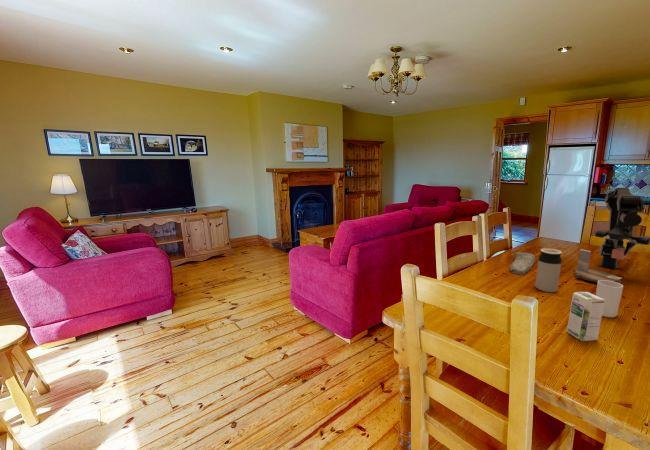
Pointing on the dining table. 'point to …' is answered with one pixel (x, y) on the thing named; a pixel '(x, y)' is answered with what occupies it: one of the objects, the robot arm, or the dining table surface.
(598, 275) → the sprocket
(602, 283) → the mug
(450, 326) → the dining table surface
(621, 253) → the dusty pink block
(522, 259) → the elongated rock
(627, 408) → the dining table surface
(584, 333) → the syrup box
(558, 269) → the travel mug
